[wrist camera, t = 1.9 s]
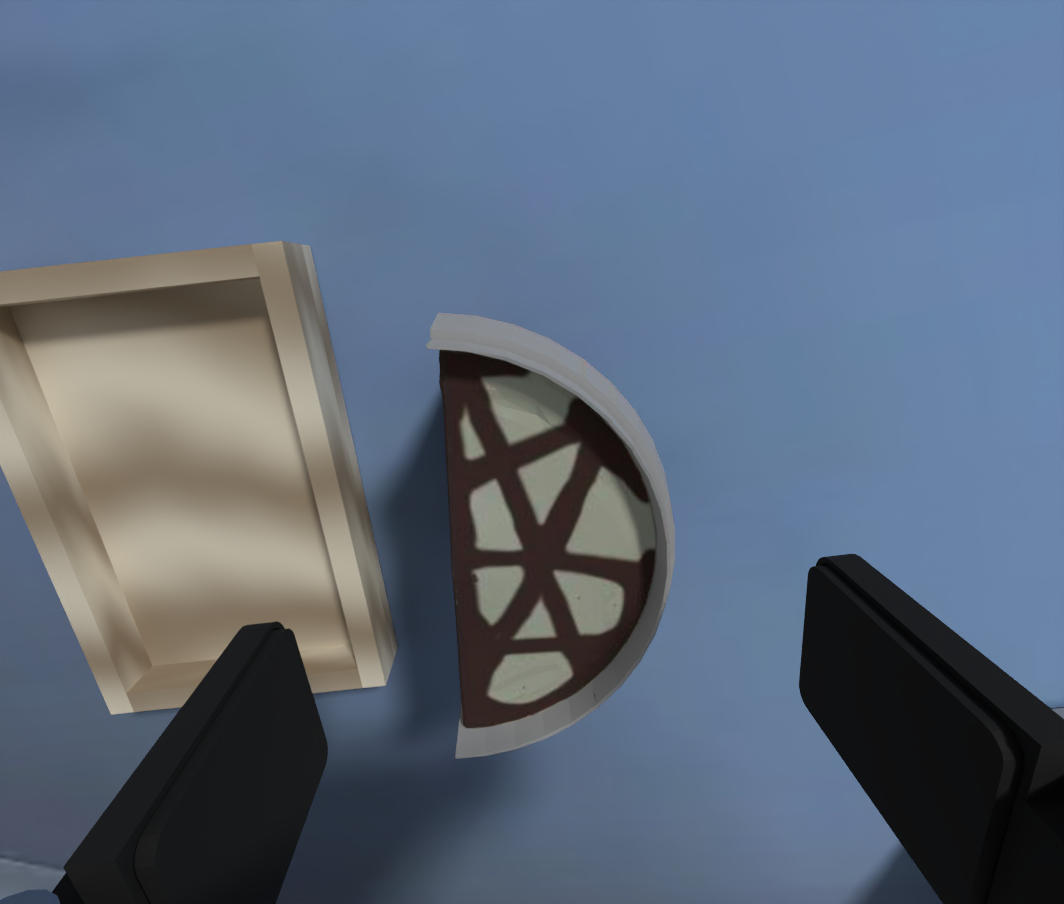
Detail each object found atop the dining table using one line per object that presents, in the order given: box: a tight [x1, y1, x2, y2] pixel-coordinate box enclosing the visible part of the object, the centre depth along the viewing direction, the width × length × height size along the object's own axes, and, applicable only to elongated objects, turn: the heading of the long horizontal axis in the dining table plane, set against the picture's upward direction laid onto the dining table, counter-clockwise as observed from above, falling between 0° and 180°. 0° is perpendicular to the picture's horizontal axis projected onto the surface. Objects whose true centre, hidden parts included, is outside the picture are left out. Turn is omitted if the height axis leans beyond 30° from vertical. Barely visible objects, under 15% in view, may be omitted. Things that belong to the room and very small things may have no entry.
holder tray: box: [0, 241, 398, 714], centre depth 21 cm, size 18×12×2 cm, turn 6°
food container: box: [426, 313, 675, 759], centre depth 18 cm, size 12×6×10 cm, turn 1°
